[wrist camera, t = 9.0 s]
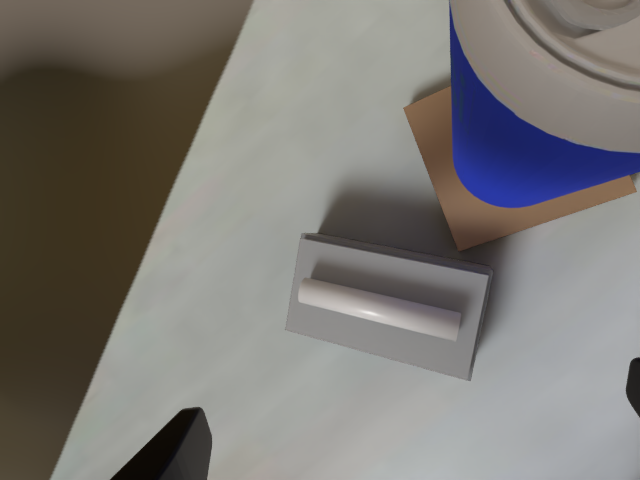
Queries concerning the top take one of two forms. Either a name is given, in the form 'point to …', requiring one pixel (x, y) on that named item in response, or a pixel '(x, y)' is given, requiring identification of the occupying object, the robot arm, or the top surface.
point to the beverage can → (543, 96)
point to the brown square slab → (467, 210)
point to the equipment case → (390, 302)
